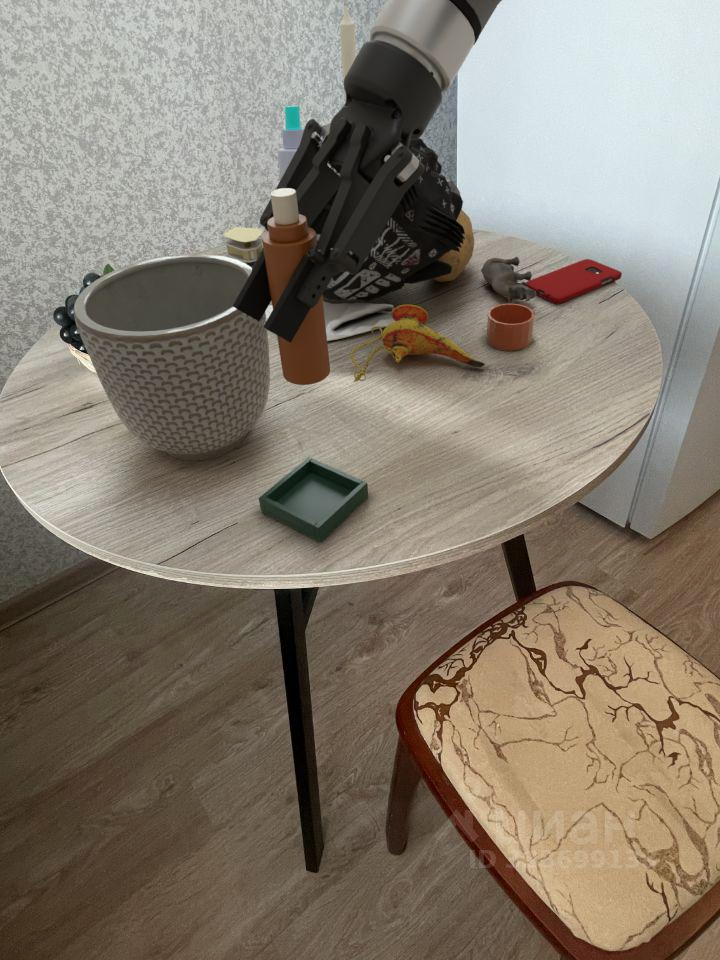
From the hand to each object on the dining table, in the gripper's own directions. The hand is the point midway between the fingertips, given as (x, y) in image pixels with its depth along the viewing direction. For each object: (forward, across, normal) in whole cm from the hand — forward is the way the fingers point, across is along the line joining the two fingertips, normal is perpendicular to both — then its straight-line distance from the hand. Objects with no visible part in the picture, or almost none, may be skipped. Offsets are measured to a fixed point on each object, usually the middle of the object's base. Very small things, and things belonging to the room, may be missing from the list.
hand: (261, 323), depth 59 cm
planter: (+16, +19, -16) cm, 30 cm away
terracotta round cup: (-15, +10, -46) cm, 50 cm away
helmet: (-4, +37, -32) cm, 49 cm away
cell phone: (-30, +16, -60) cm, 69 cm away
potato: (-20, +32, -52) cm, 64 cm away
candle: (-16, +47, -48) cm, 69 cm away
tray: (+14, 0, -18) cm, 22 cm away
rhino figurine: (-25, +18, -54) cm, 63 cm away
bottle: (+2, 0, -7) cm, 7 cm away
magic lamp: (-11, +17, -36) cm, 41 cm away
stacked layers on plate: (-5, +60, -37) cm, 70 cm away
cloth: (-4, +32, -35) cm, 48 cm away
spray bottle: (-14, +61, -45) cm, 77 cm away
